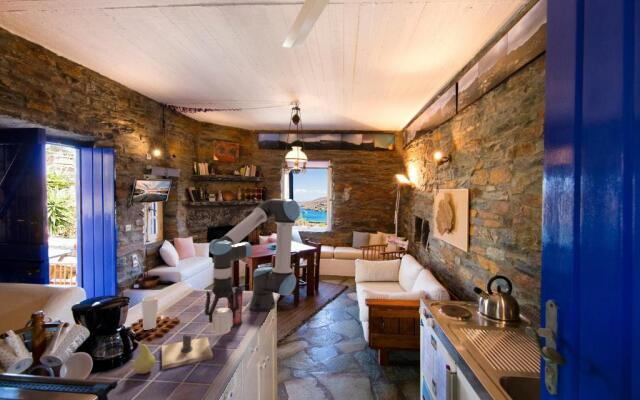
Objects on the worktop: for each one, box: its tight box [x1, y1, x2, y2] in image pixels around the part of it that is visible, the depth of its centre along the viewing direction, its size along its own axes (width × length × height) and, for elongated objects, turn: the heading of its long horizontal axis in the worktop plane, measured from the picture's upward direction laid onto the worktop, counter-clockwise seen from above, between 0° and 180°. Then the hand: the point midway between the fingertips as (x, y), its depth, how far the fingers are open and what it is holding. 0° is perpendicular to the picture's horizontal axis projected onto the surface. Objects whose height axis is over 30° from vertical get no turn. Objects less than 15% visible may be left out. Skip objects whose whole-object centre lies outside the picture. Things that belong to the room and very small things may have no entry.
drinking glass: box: [141, 295, 159, 331], centre depth 140 cm, size 7×7×15 cm
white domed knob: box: [212, 307, 232, 336], centre depth 129 cm, size 7×7×10 cm
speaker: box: [227, 286, 244, 327], centre depth 149 cm, size 8×8×18 cm
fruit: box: [132, 339, 156, 375], centre depth 106 cm, size 7×8×12 cm
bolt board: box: [161, 333, 214, 371], centre depth 120 cm, size 18×16×8 cm
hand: (222, 327), depth 130 cm, fingers closed on white domed knob, 7 cm apart
